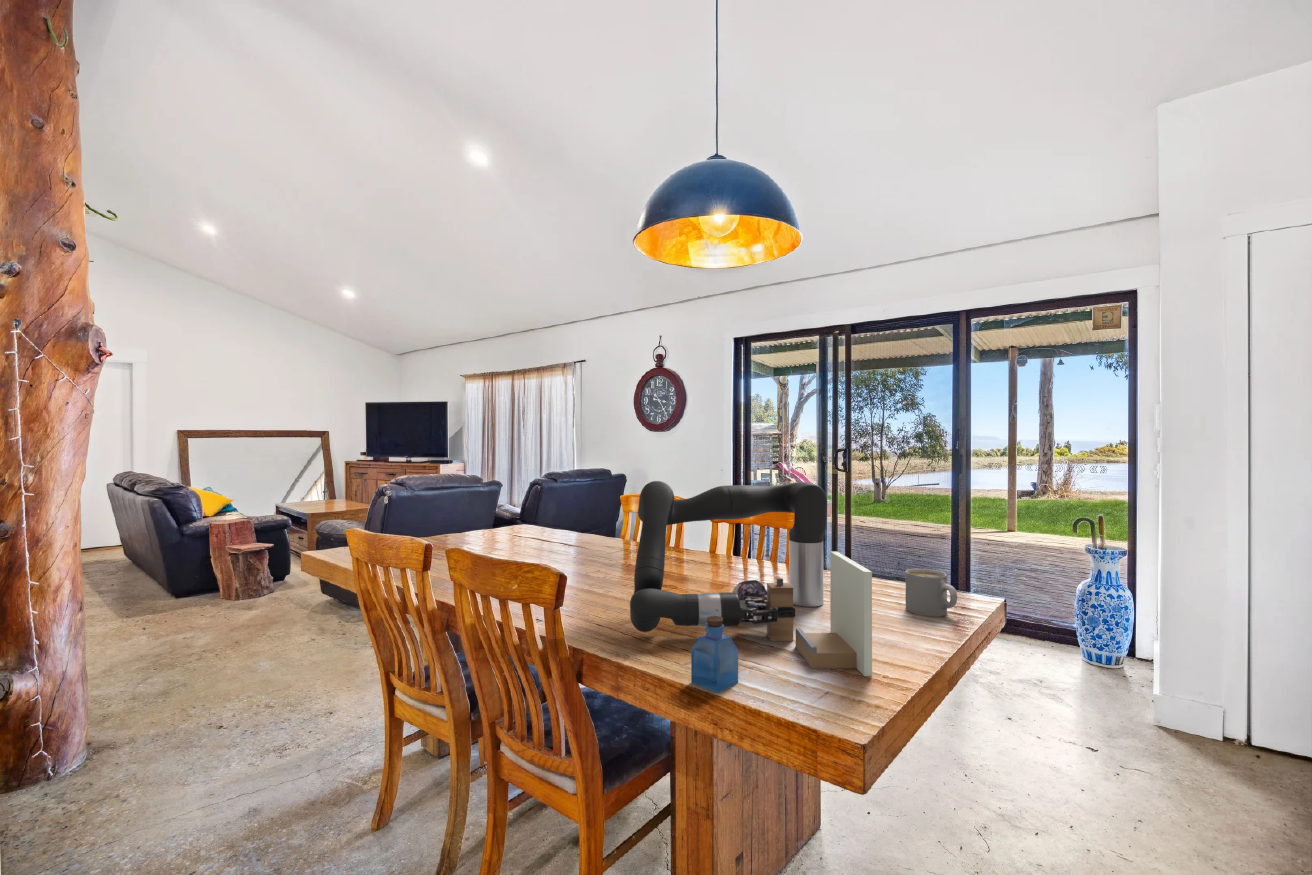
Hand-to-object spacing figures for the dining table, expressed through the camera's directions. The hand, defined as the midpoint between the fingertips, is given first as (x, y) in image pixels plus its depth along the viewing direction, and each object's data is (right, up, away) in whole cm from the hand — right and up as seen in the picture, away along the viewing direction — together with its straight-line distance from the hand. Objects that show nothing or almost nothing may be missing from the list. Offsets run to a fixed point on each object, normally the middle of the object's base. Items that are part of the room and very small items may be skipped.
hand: (791, 608), depth 134 cm
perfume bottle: (-20, -7, -25) cm, 32 cm away
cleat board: (+5, -7, -12) cm, 14 cm away
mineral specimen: (-7, -7, +15) cm, 18 cm away
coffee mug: (+41, -7, +19) cm, 46 cm away
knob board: (-3, -7, 0) cm, 7 cm away
